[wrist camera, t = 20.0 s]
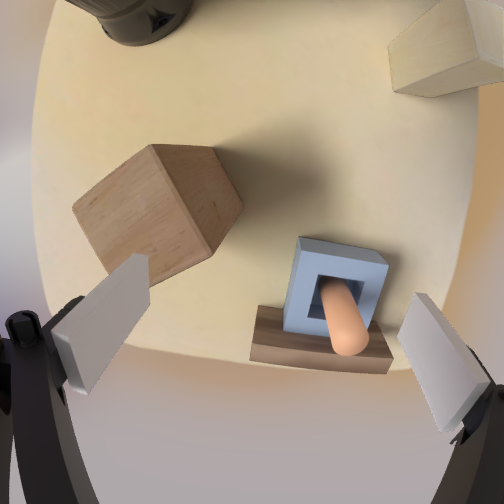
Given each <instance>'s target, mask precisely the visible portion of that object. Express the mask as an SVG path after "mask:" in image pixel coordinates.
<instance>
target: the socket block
mask: <svg viewBox="0 0 504 504" xmlns="http://www.w3.org/2000/svg"><path fill="white" fill-rule="evenodd" d="M388 268H389V265H388V263H387V262H386V261H385V260H384V259H383V258H382V257H381V255H380V254H379V253H378V252H377V251H376V250H370V249H365V248H360V247H354V246H349V245H343V244H337V243H332V242H326V241H320V240H315V239H309V238H303V237H298V242H297V247H296V252H295V257H294V262H293V267H292V272H291V277H290V281H289V286H288V291H287V295H286V300H285V305H284V309H283V331H287V332H294V333H301V334H309V335H316V336H325V337H330V334H329V329H328V325H327V321H326V316H325V312H324V308H323V304H322V299H321V295H320V291H319V287H318V284H319V281H320V279H321V277H322V276H323V275H326V276H333V277H339V278H344V279H345V281H346V283H347V285H348V288H349V290H350V292H351V294H352V297H353V299H354V301H355V303H356V306H357V308H358V310H359V312H360V315H361V317H362V319H363V322H364V324H365V327H366V329H368V327H369V324H370V321H371V319H372V316H373V313H374V310H375V307H376V305H377V302H378V299H379V296H380V293H381V290H382V287H383V284H384V281H385V278H386V274H387V271H388Z"/></svg>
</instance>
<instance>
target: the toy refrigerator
mask: <svg viewBox="0 0 504 504" xmlns="http://www.w3.org/2000/svg"><path fill="white" fill-rule="evenodd" d="M388 52H389V59H390V67H391V76H392V87H393V91H394V92H399V93H405V94H411V95H417V96H422V97H428V98H432V97H436V96H440V95H444V94H448V93H452V92H456V91H460V90H465V89H469V88H473V87H478V86H482V85H487V84H493V83H498V82H504V9H503V8H502V7H500V6H498V5H496V4H494V3H492V2H490V1H488V0H441V1H440V2H439V3H437V4H436V5H435V6H434V7H432V8H431V9H430V10H429V11H427V12H426V13H425V14H424V15H422V16H421V17H420V18H419V19H418V20H416V21H415V22H414V23H413V24H412V25H410V26H409V27H408V28H407V29H406V30H404V31H403V32H402V33H401V34H400V35H399V36H397V37H396V38H395V39H394V40H393V41H392V42H391V43H389V44H388Z"/></svg>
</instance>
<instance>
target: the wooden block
mask: <svg viewBox="0 0 504 504" xmlns="http://www.w3.org/2000/svg"><path fill="white" fill-rule="evenodd" d="M243 208H244V206H243V203H242V202H241V200H240V198H239V196H238V194H237V192H236V191H235V189H234V187H233V185H232V183H231V181H230V180H229V178H228V176H227V174H226V172H225V171H224V169H223V167H222V165H221V163H220V161H219V160H218V158H217V156H216V154H215V152H214V151H213V149H212V148H211V147H208V146H192V145H171V144H151V145H148V146H146V147H145V148H144V149H142V150H141V151H139V152H138V153H137V154H135V155H134V156H132V157H131V158H130V159H128V160H127V161H126V162H124V163H123V164H122V165H120V166H119V167H118V168H116V169H115V170H114V171H113V172H111V173H110V174H109V175H108V176H106V177H105V178H104V179H103V180H101V181H100V182H99V183H98V184H96V185H95V186H94V187H93V188H92V189H90V190H89V191H88V192H87V193H86V194H84V195H83V196H82V197H81V198H80V199H79V200H78V201H76V202H75V203H74V205H73V206H72V211H73V212H74V214H75V216H76V218H77V220H78V222H79V224H80V226H81V228H82V230H83V231H84V233H85V235H86V237H87V239H88V240H89V242H90V244H91V246H92V247H93V249H94V251H95V253H96V254H97V256H98V258H99V259H100V261H101V263H102V264H103V266H104V268H105V269H106V271H107V273H108V274H109V275H110V274H111V273H112V272H113V271H114V270H115V269H116V268H118V267H119V266H120V265H121V264H122V263H123V262H124V261H125V260H127V259H128V258H129V257H130V256H131V255H132V254H134V253H137V254H143V255H148V268H149V288H150V287H152V286H154V285H156V284H158V283H160V282H162V281H164V280H166V279H168V278H170V277H172V276H174V275H176V274H178V273H180V272H182V271H184V270H186V269H188V268H190V267H192V266H194V265H196V264H198V263H200V262H202V261H204V260H206V259H208V258H210V257H212V256H213V254H214V253H215V251H216V250H217V248H218V247H219V245H220V244H221V242H222V240H223V239H224V237H225V236H226V234H227V233H228V231H229V230H230V228H231V226H232V225H233V223H234V222H235V220H236V219H237V217H238V216H239V214H240V213H241V211H242V210H243Z"/></svg>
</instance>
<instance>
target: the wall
mask: <svg viewBox="0 0 504 504" xmlns="http://www.w3.org/2000/svg"><path fill="white" fill-rule="evenodd" d="M367 331H368V334H369V342H368V344H367V346H366V347H365V349H364V350H362V351H361V352H360V353H358V354H356V355H353V356H342V355H339V354H337V353H336V352H335V351H334V349H333V347H332V343H331V338H330V337H325V336H316V335H309V334H301V333H294V332H287V331H283V309H277V308H271V307H264V306H258V310H257V315H256V321H255V327H254V334H253V340H252V346H251V353H250V359H249V361H255V362H262V363H268V364H275V365H283V366H290V367H298V368H307V369H316V370H327V371H338V372H353V373H368V374H386V373H387V371H388V370H389V368H390V366H391V364H392V362H393V359H394V358H393V356H392V353H391V351H390V349H389V347H388V345H387V343H386V341H385V338H384V336H383V334H382V332H381V330H380V328H379V326H378V324H377V322H374V321H370V324H369V327H368V329H367Z"/></svg>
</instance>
